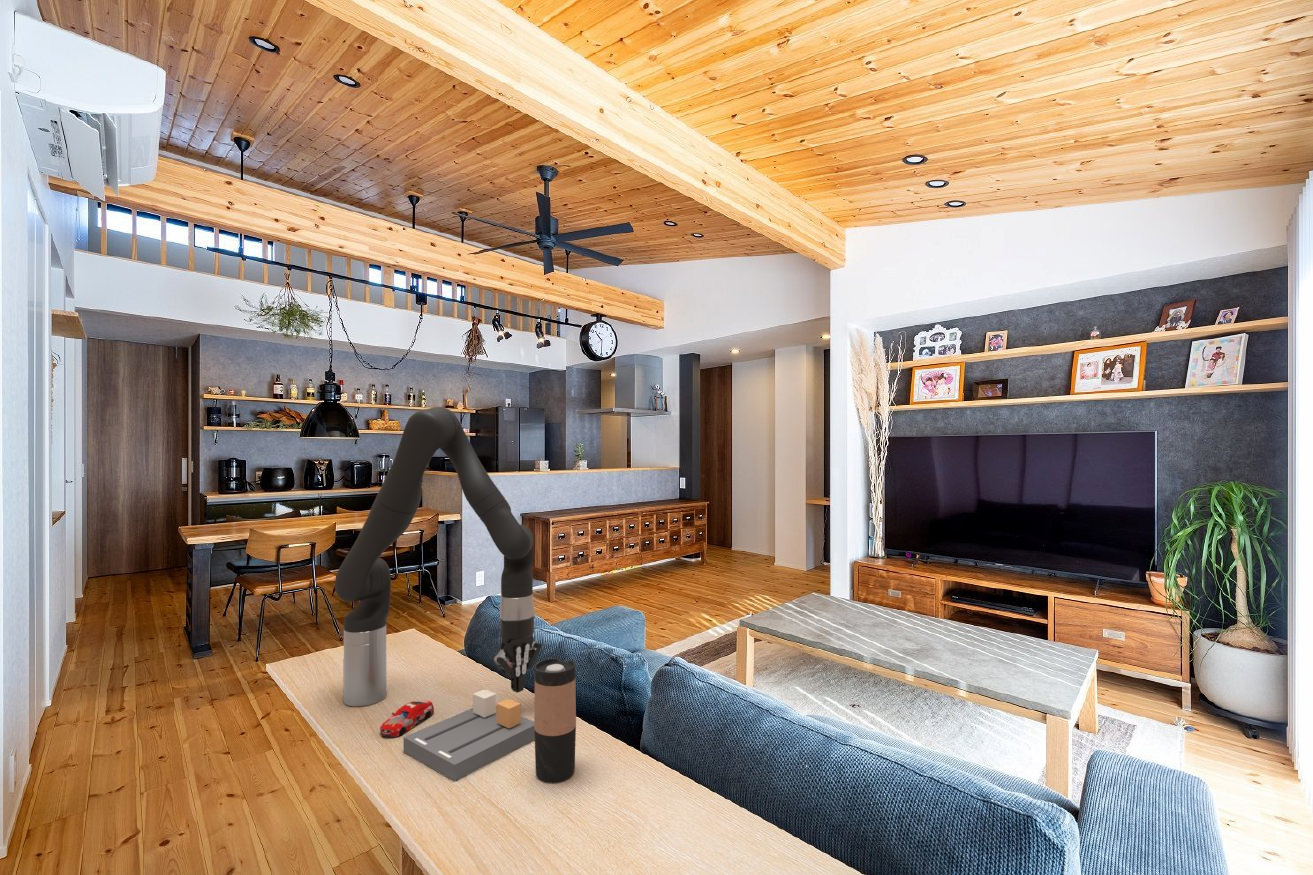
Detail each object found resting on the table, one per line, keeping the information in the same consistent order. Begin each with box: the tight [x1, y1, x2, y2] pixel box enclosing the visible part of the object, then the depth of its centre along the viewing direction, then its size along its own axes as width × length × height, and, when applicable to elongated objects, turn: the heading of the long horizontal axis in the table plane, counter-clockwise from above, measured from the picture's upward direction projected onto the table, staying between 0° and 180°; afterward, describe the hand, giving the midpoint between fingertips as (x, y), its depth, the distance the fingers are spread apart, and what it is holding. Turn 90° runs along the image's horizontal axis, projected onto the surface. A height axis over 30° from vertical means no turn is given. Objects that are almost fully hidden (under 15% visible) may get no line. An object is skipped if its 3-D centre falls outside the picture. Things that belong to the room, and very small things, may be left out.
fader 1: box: [472, 689, 497, 718], centre depth 130 cm, size 4×3×4 cm
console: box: [402, 705, 535, 782], centre depth 123 cm, size 17×20×3 cm
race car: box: [379, 699, 435, 738], centre depth 132 cm, size 13×5×4 cm, turn 160°
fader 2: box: [496, 698, 522, 728], centre depth 125 cm, size 4×3×4 cm
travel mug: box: [533, 657, 577, 784], centre depth 112 cm, size 8×8×20 cm
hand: (517, 690), depth 137 cm, fingers closed
